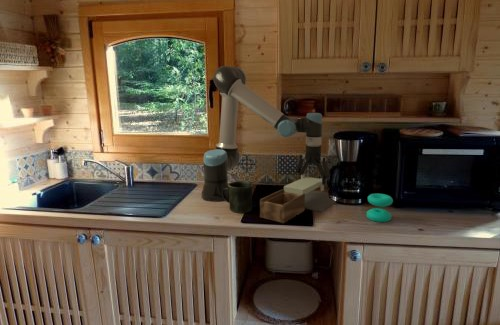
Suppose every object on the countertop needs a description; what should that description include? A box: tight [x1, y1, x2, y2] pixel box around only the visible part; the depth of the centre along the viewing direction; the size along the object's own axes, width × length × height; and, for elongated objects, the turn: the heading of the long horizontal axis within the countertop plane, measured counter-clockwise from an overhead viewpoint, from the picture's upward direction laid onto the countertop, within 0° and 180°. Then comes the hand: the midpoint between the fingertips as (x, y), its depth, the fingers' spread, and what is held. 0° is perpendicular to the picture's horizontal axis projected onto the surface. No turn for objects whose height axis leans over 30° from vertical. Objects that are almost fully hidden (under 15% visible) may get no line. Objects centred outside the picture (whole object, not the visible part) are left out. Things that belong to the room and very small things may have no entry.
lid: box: [283, 175, 320, 195], centre depth 170 cm, size 10×22×2 cm, turn 143°
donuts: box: [366, 192, 394, 223], centre depth 150 cm, size 10×10×10 cm
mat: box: [305, 189, 337, 213], centre depth 173 cm, size 18×26×1 cm
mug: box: [222, 180, 254, 214], centre depth 161 cm, size 11×15×12 cm
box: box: [259, 188, 306, 224], centre depth 156 cm, size 12×18×8 cm, turn 144°
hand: (312, 188), depth 178 cm, fingers closed on lid, 10 cm apart
